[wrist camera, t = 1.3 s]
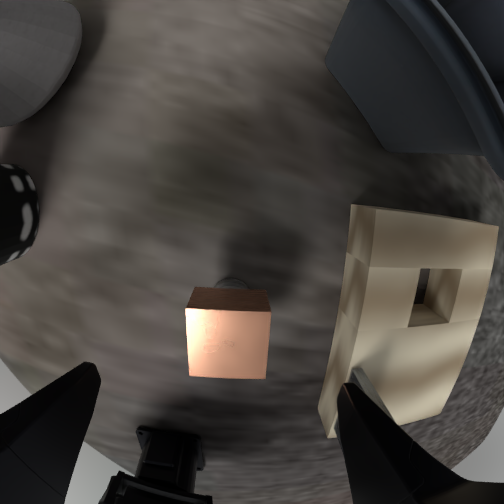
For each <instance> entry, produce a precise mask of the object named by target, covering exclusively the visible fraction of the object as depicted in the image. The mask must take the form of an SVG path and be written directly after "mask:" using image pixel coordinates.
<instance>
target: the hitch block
mask: <svg viewBox="0 0 504 504" xmlns="http://www.w3.org/2000/svg"><path fill="white" fill-rule="evenodd" d="M498 228H499V227H498V226H494V225H490V224H486V223H481V222H477V221H473V220H468V219H462V218H456V217H450V216H443V215H437V214H430V213H423V212H415V211H408V210H400V209H392V208H383V207H374V206H365V205H356V204H351V212H350V223H349V233H348V243H347V251H346V260H345V268H344V275H343V282H342V289H341V295H340V302H339V308H338V314H337V320H336V325H335V331H334V336H333V341H332V346H331V351H330V356H329V361H328V366H327V370H326V375H325V379H324V383H323V388H322V392H321V396H320V400H319V404H318V411H319V414H320V417H321V420H322V423H323V426H324V429H325V432H326V435H327V438H334V437H337V435H336V433H335V430H334V425H335V422H336V419H337V416H338V411H337V396H338V394H339V391H340V388H341V386H342V384H343V383H347V382H348V380H349V376H350V372H351V369H356V368H362V369H363V370H364V372H365V373H366V375H367V377H368V378H369V380H370V381H371V383H372V385H373V386H374V388H375V389H376V391H377V393H378V394H379V396H380V397H381V399H382V401H383V402H384V404H385V406H386V407H387V409H388V411H389V412H390V414H391V415H392V417H393V419H394V420H395V422H396V423H397V424H398V425H403V424H406V423H410V422H414V421H418V420H421V419H424V418H428V417H431V416H434V415H437V414H440V412H441V411H442V409H443V407H444V405H445V403H446V401H447V399H448V397H449V395H450V393H451V391H452V388H453V386H454V384H455V382H456V380H457V377H458V375H459V373H460V370H461V368H462V366H463V363H464V361H465V358H466V356H467V353H468V350H469V348H470V345H471V342H472V339H473V336H474V333H475V331H476V327H477V324H478V321H479V318H480V315H481V311H482V308H483V304H484V300H485V297H486V293H487V289H488V284H489V280H490V276H491V271H492V266H493V261H494V255H495V249H496V243H497V236H498ZM421 268H430V273H429V278H428V283H427V288H426V293H425V297H424V301H423V304H413V303H414V298H415V294H416V289H417V284H418V279H419V274H420V269H421Z"/></svg>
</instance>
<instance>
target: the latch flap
mask: <svg viewBox="0 0 504 504" xmlns="http://www.w3.org/2000/svg"><path fill="white" fill-rule="evenodd" d="M348 382H354V383H355V384H357V385H358V386H359V387H360V388H361V389H362V390H363V391H364V392H365V393H366V394H367V395H368V396H369V397H370V398H371V399H372V400H373V401H374V402H375V403H376V404H377V405H378V406H379V407H380V408H381V409H382V410H383V411H384V412H385V413H386V414H387V415H388V416H389V417H390V418H391V419H392V420H394V419H393V417H392V415H391V414H390V412H389V411H388V409H387V407H386V406H385V404H384V402H383V401H382V399H381V397H380V396H379V394H378V393H377V391H376V389H375V388H374V386H373V385H372V383H371V381H370V380H369V378H368V377H367V375H366V373H365V372H364V370H363V369H362V368H356V369H351V372H350V376H349V380H348ZM394 421H395V420H394ZM334 430H335V433H336V435H337V438H338V441H339V444H340V446H341V449H342V445H341V440H340V432H339V421H338V416H337V419H336V422H335V425H334ZM342 452H343V450H342Z"/></svg>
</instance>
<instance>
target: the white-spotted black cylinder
mask: <svg viewBox="0 0 504 504" xmlns="http://www.w3.org/2000/svg"><path fill="white" fill-rule="evenodd" d="M38 222H39V205H38V198H37V193H36V189H35V186H34V184H33V181H32V179H31V178H30V176H29V174H28V173H27V172H26V171H25V170H24V169H23V168H21V167H20V166H18V165H14V164H0V265H3V264H5V263H7V262H10V261H12V260H14V259H17V258H19V257H21V256H23V255H24V254H25V253H27V252H28V250H29V249H30V247H31V246H32V244H33V242H34V239H35V236H36V233H37V229H38Z"/></svg>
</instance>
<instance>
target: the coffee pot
mask: <svg viewBox="0 0 504 504" xmlns="http://www.w3.org/2000/svg"><path fill="white" fill-rule="evenodd" d="M81 39H82V24H81V18H80V13H79V12H78V10H77V9H76V8H75V7H74V5H72V4H70V3H67V2H65V1H61V0H0V127H5V126H13V125H15V124H17V123H19V122H21V121H23V120H25V119H27V118H29V117H31V116H32V115H34V114H35V113H36V112H37V111H38V110H40V109H41V108H42V107H43V106H44V105H45V104H46V103H47V102H48V101H49V100H50V99H51V98H52V97H53V95H54V94H55V93H56V92H57V91H58V89H59V88H60V86H61V85H62V84H63V82H64V81H65V79H66V78H67V76H68V74H69V72H70V70H71V68H72V66H73V65H74V63H75V60H76V57H77V54H78V52H79V49H80V46H81Z"/></svg>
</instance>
